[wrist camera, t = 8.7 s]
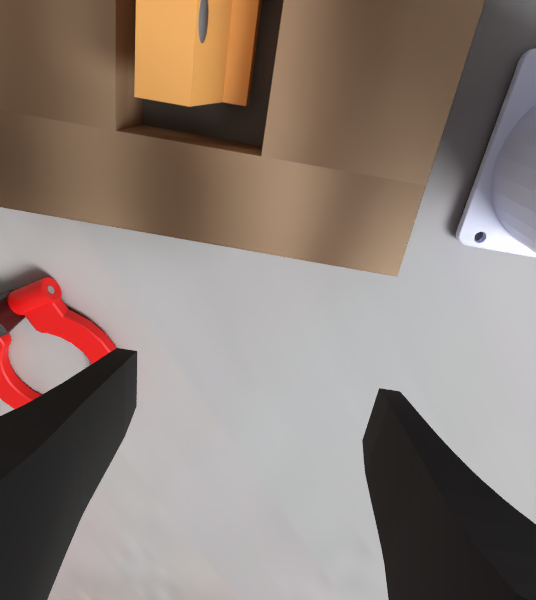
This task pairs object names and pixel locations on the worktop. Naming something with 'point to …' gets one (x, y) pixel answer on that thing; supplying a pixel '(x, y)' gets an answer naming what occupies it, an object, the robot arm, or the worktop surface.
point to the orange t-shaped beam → (195, 50)
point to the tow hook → (43, 331)
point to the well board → (237, 127)
